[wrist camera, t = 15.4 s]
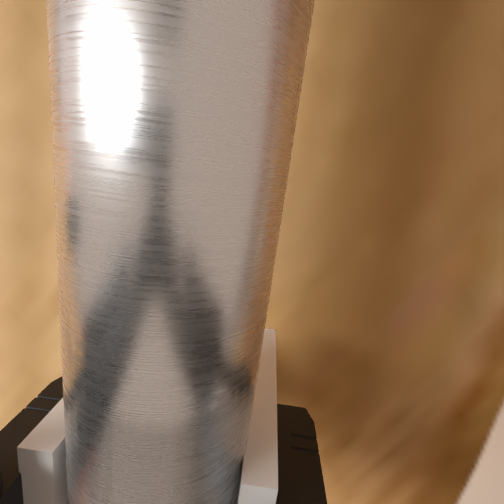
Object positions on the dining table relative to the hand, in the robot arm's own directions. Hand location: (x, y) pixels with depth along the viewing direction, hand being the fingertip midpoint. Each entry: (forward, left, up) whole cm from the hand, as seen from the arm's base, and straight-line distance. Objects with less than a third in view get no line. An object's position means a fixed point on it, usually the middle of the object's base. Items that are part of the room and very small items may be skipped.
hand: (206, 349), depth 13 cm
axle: (-7, 0, +5) cm, 9 cm away
